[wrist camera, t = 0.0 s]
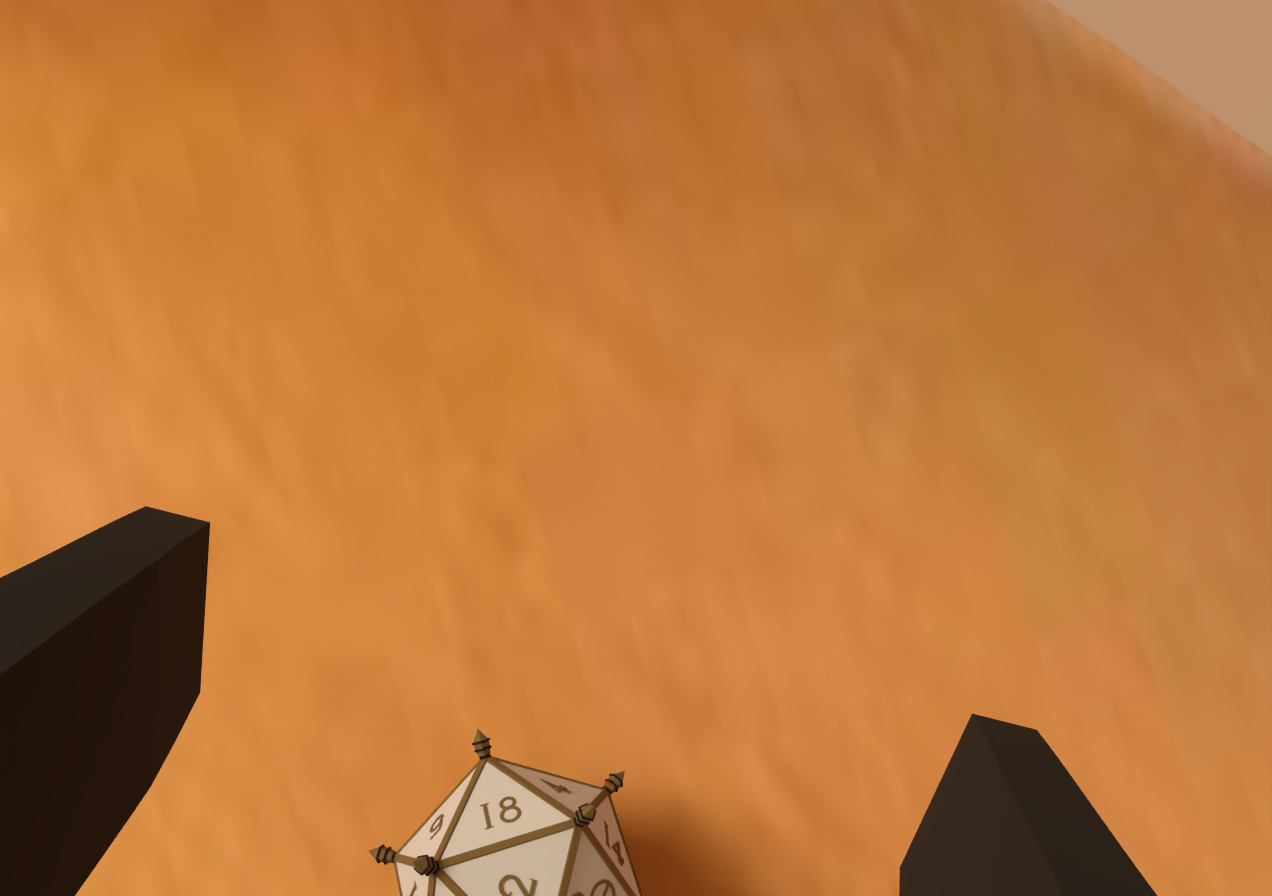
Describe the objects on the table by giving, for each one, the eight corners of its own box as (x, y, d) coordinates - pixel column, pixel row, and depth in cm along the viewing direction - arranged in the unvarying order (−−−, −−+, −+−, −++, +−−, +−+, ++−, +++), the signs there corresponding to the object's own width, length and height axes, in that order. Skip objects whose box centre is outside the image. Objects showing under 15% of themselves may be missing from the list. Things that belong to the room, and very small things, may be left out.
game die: (538, 833, 45) (671, 681, 39) (604, 1070, 40) (768, 934, 34) (306, 847, 40) (420, 676, 34) (346, 1121, 35) (489, 971, 29)
